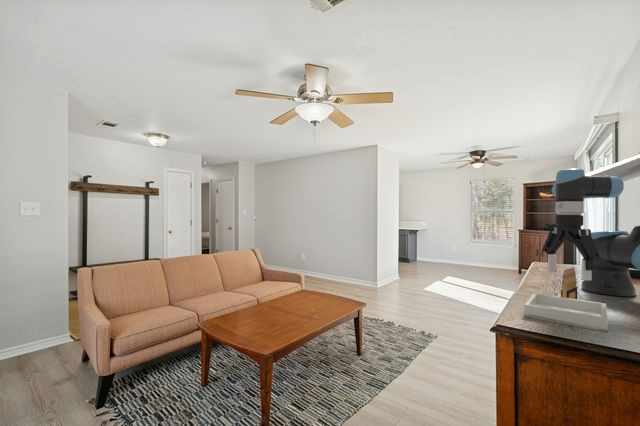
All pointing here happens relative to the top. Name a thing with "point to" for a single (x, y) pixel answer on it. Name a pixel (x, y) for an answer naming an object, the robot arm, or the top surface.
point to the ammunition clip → (569, 284)
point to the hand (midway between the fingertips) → (568, 276)
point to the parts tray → (567, 311)
